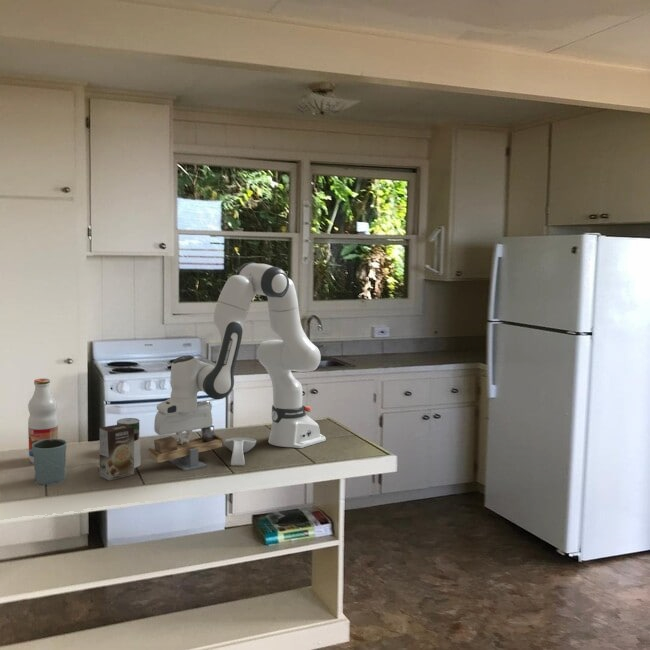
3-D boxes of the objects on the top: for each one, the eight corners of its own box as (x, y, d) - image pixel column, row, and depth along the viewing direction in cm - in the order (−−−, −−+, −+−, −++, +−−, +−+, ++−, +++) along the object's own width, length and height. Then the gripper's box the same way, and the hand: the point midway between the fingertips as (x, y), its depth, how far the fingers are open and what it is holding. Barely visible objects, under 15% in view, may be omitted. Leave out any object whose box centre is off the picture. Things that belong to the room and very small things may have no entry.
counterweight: (210, 437, 250) (210, 424, 250) (216, 440, 247) (216, 427, 246) (199, 440, 248) (198, 426, 247) (205, 443, 244) (204, 429, 244)
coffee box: (109, 481, 224) (108, 431, 222) (99, 476, 228) (98, 427, 226) (135, 474, 231) (134, 426, 229) (124, 469, 235) (124, 422, 233)
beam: (211, 440, 253) (210, 432, 253) (223, 447, 246) (223, 438, 246) (147, 456, 239) (147, 447, 239) (159, 463, 232) (158, 454, 231)
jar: (125, 460, 244) (125, 426, 243) (144, 464, 241) (144, 429, 240) (107, 468, 236) (107, 433, 235) (127, 471, 233) (127, 436, 231)
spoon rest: (224, 446, 265) (224, 427, 264) (256, 445, 266) (256, 427, 265) (221, 466, 241) (221, 446, 240) (255, 466, 242) (256, 446, 241)
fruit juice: (64, 460, 243) (62, 379, 240) (37, 466, 236) (35, 384, 232) (49, 454, 249) (47, 375, 246) (23, 460, 242) (21, 379, 238)
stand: (187, 455, 251) (187, 438, 250) (206, 466, 240) (206, 448, 239) (166, 459, 246) (166, 441, 245) (184, 470, 235) (184, 452, 234)
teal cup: (64, 473, 230) (64, 437, 229) (69, 482, 222) (68, 445, 220) (31, 477, 226) (30, 440, 224) (34, 487, 217) (33, 449, 215)
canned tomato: (137, 453, 252) (137, 423, 250) (114, 453, 251) (114, 423, 250) (141, 447, 260) (141, 417, 258) (119, 447, 259) (119, 417, 258)
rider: (171, 447, 242) (170, 436, 241) (177, 450, 238) (176, 439, 237) (155, 451, 238) (154, 440, 238) (160, 454, 235) (159, 443, 234)
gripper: (207, 398, 249) (207, 436, 251) (152, 405, 237) (152, 445, 238) (215, 401, 244) (215, 440, 246) (159, 409, 232) (160, 450, 233)
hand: (184, 443), depth 242 cm, fingers closed
